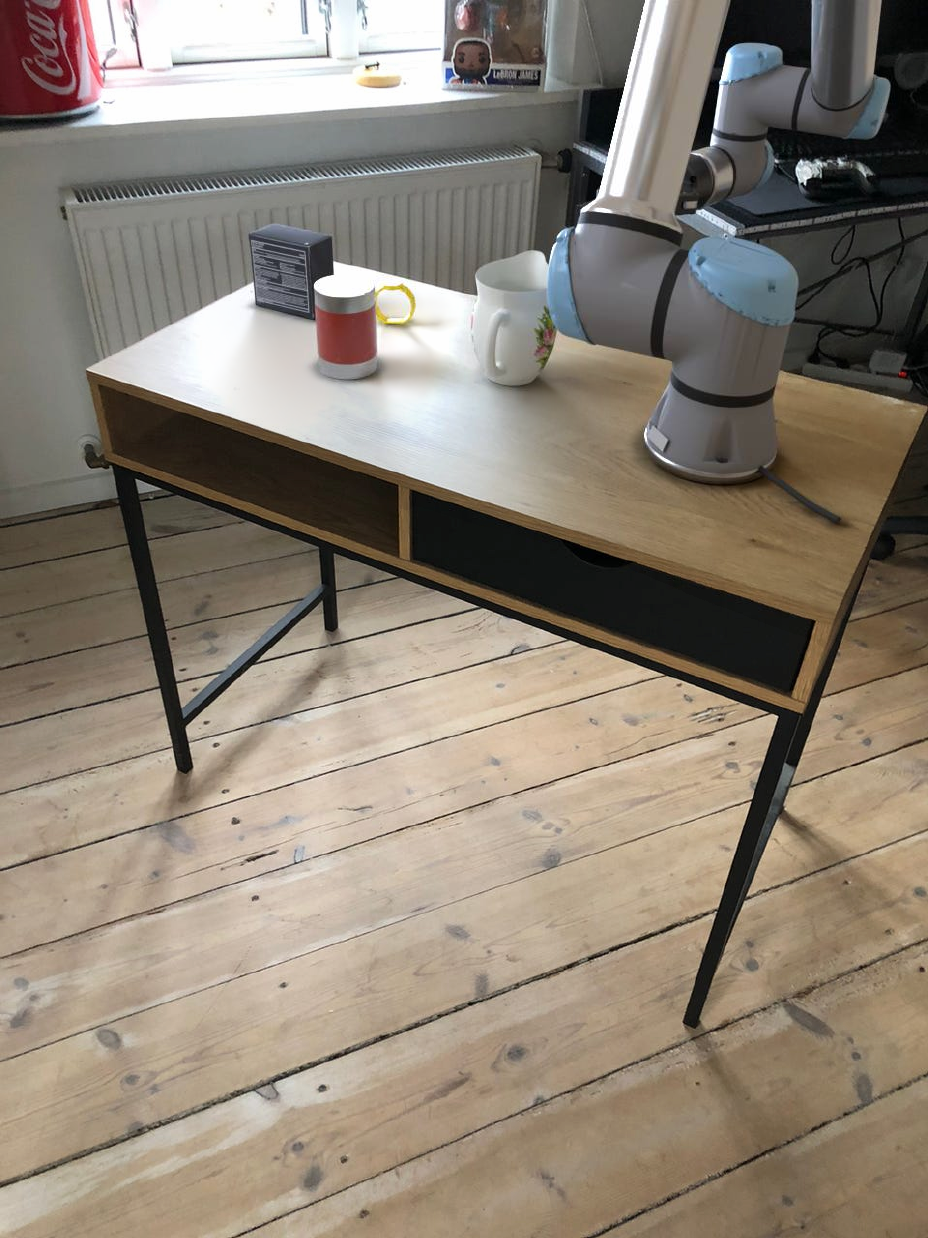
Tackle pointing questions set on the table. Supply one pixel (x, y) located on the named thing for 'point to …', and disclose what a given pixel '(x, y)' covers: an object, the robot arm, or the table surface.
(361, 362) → the tin can
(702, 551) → the table surface
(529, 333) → the pitcher
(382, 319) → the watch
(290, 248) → the small box
